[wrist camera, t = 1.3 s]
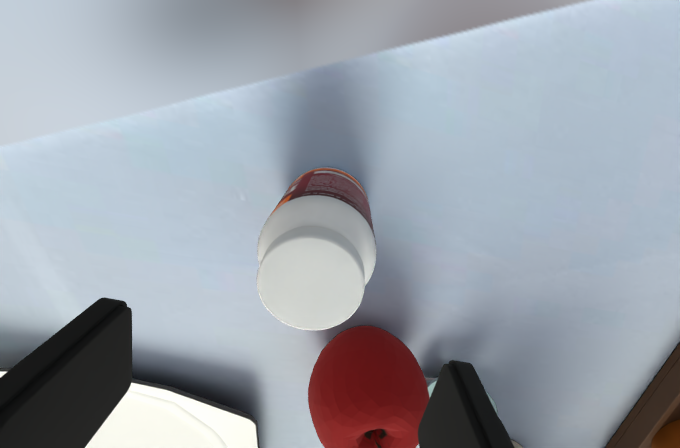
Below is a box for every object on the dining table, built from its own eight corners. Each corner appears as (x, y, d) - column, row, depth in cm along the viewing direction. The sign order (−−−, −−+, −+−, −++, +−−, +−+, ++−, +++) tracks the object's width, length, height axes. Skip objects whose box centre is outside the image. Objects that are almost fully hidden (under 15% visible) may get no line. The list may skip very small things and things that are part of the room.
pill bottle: (290, 158, 23) (243, 204, 13) (376, 173, 23) (399, 230, 13) (280, 238, 25) (233, 333, 15) (359, 251, 25) (367, 354, 15)
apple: (302, 315, 28) (279, 424, 18) (409, 299, 27) (443, 405, 18) (324, 397, 31) (314, 526, 21) (421, 385, 30) (454, 513, 21)
